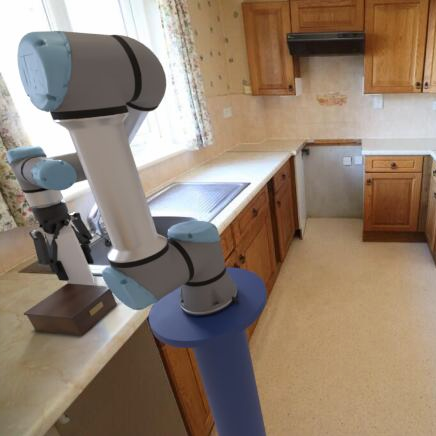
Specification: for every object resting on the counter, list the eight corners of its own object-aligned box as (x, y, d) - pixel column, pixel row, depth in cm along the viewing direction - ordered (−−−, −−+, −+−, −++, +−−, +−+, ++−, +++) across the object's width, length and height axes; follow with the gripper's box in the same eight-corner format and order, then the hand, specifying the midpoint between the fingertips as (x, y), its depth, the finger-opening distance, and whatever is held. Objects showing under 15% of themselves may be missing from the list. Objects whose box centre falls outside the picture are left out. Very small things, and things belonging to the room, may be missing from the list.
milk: (95, 285, 101) (69, 222, 91) (72, 293, 97) (42, 229, 88) (93, 277, 105) (68, 216, 96) (71, 284, 102) (42, 221, 92)
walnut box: (118, 303, 92) (111, 286, 90) (81, 336, 81) (72, 318, 78) (75, 299, 95) (67, 283, 92) (33, 331, 83) (23, 313, 81)
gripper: (69, 189, 99) (94, 252, 109) (-5, 218, 81) (33, 291, 90) (90, 190, 98) (114, 253, 108) (19, 219, 79) (56, 293, 89)
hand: (77, 271), depth 99 cm, fingers closed on milk, 8 cm apart
